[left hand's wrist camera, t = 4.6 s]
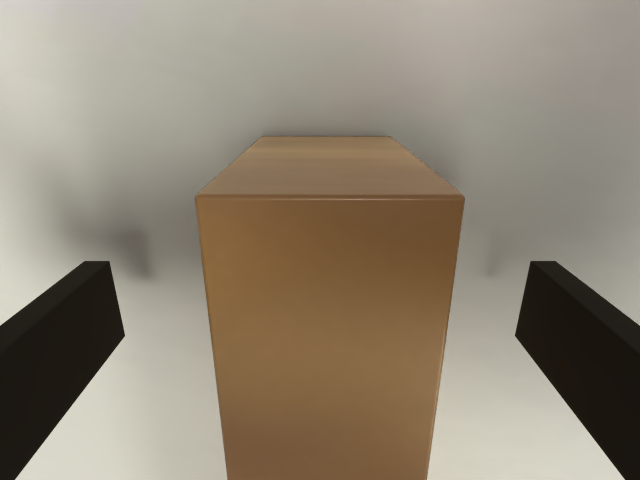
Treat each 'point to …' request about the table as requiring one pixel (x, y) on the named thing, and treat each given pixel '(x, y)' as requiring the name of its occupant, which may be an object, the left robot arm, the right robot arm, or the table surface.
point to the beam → (328, 306)
